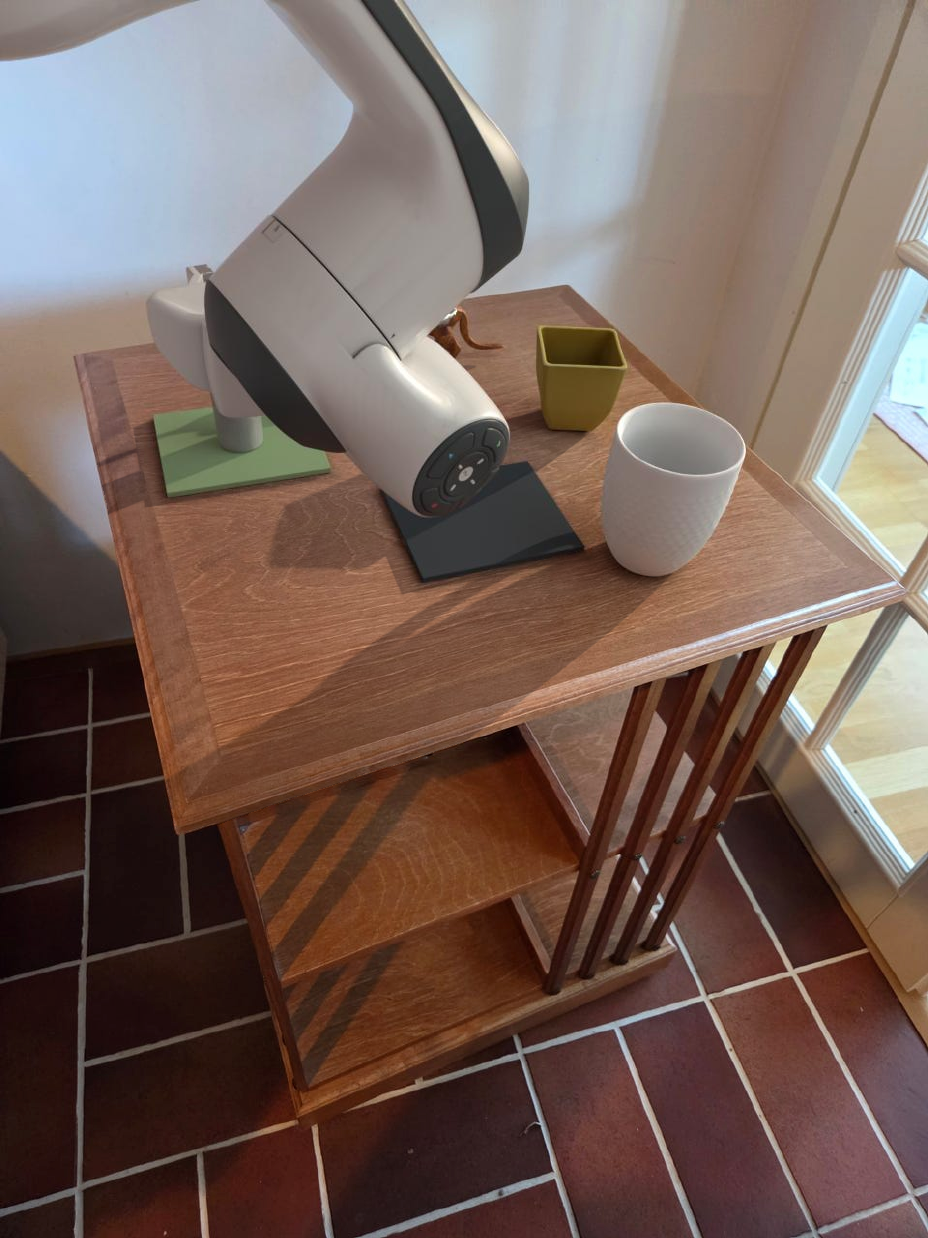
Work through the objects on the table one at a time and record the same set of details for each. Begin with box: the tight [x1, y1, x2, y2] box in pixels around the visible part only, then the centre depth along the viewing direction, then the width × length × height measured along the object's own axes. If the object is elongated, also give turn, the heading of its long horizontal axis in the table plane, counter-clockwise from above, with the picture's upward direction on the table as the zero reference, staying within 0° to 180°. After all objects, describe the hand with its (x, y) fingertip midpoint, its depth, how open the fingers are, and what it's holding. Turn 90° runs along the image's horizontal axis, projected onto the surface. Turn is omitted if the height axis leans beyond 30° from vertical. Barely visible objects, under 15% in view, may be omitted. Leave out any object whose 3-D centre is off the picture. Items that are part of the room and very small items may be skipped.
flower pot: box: [535, 324, 628, 432], centre depth 91 cm, size 9×9×9 cm
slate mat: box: [379, 460, 586, 584], centre depth 81 cm, size 16×14×1 cm
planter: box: [209, 392, 263, 453], centre depth 82 cm, size 4×4×10 cm
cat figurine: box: [427, 304, 505, 360], centre depth 96 cm, size 18×7×14 cm, turn 104°
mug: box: [600, 402, 747, 577], centre depth 75 cm, size 15×11×13 cm
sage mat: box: [152, 406, 332, 499], centre depth 86 cm, size 16×14×1 cm
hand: (256, 264), depth 63 cm, fingers open, 8 cm apart
